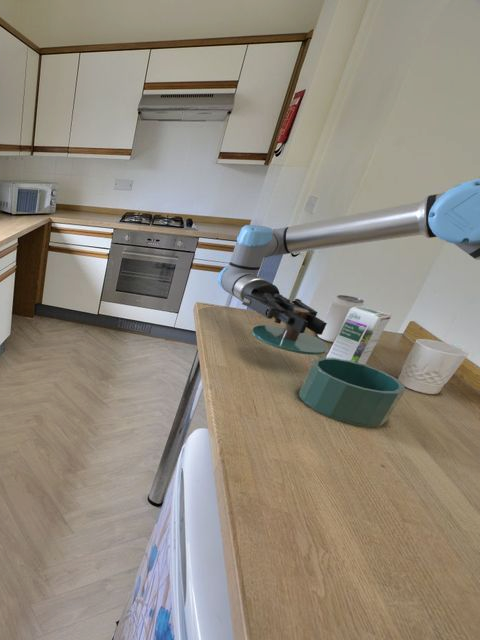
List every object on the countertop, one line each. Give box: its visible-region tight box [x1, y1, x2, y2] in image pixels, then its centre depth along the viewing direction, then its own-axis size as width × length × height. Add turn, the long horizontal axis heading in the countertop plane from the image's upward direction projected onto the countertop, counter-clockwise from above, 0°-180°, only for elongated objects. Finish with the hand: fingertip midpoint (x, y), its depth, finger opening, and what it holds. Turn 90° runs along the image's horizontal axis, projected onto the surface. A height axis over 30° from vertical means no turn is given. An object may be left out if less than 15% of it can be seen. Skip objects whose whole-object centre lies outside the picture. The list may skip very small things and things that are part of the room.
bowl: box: [298, 357, 406, 428], centre depth 81 cm, size 14×14×8 cm
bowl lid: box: [251, 308, 330, 356], centre depth 94 cm, size 15×15×8 cm
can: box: [316, 294, 365, 344], centre depth 112 cm, size 6×6×12 cm
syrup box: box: [325, 305, 393, 365], centre depth 96 cm, size 6×6×14 cm
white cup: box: [396, 338, 469, 395], centre depth 90 cm, size 8×8×10 cm
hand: (313, 328), depth 88 cm, fingers closed on bowl lid, 3 cm apart
